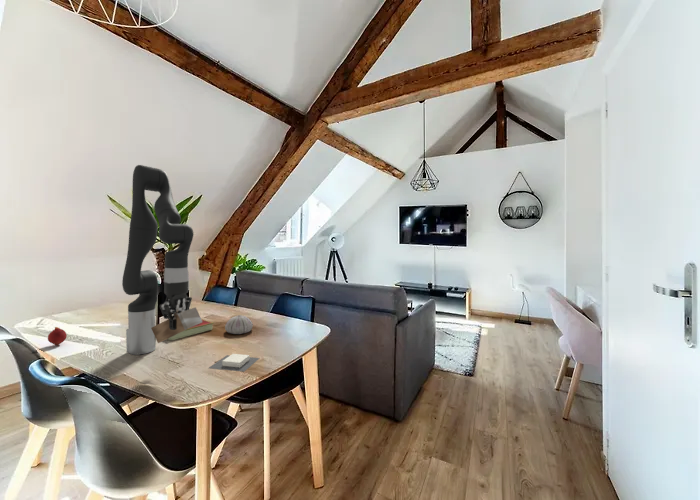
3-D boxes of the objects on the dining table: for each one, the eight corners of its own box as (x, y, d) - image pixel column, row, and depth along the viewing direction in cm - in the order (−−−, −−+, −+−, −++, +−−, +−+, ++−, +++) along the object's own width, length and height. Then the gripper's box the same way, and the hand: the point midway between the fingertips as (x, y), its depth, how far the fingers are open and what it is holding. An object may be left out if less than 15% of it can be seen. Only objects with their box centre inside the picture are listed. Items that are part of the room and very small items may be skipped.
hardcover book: (158, 336, 143) (158, 328, 143) (200, 326, 161) (200, 318, 160) (170, 341, 137) (170, 332, 136) (213, 330, 154) (213, 322, 154)
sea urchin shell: (244, 325, 161) (244, 311, 161) (258, 331, 152) (258, 316, 152) (219, 331, 151) (219, 315, 151) (233, 337, 142) (233, 321, 142)
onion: (66, 341, 133) (66, 324, 133) (67, 345, 129) (66, 327, 128) (48, 345, 129) (47, 326, 128) (47, 348, 125) (47, 329, 124)
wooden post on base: (152, 345, 104) (145, 330, 105) (169, 338, 112) (162, 323, 112) (187, 328, 102) (180, 312, 102) (202, 322, 110) (195, 307, 110)
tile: (222, 360, 110) (239, 362, 109) (232, 353, 117) (249, 355, 116) (222, 366, 110) (239, 367, 109) (232, 358, 117) (249, 360, 116)
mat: (208, 369, 108) (208, 368, 108) (227, 356, 120) (227, 355, 120) (244, 372, 106) (244, 371, 106) (259, 359, 118) (259, 358, 118)
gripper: (180, 277, 114) (180, 321, 115) (151, 282, 100) (151, 333, 101) (198, 277, 113) (198, 323, 114) (171, 283, 99) (171, 335, 100)
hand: (176, 327), depth 107 cm, fingers closed on wooden post on base, 3 cm apart
